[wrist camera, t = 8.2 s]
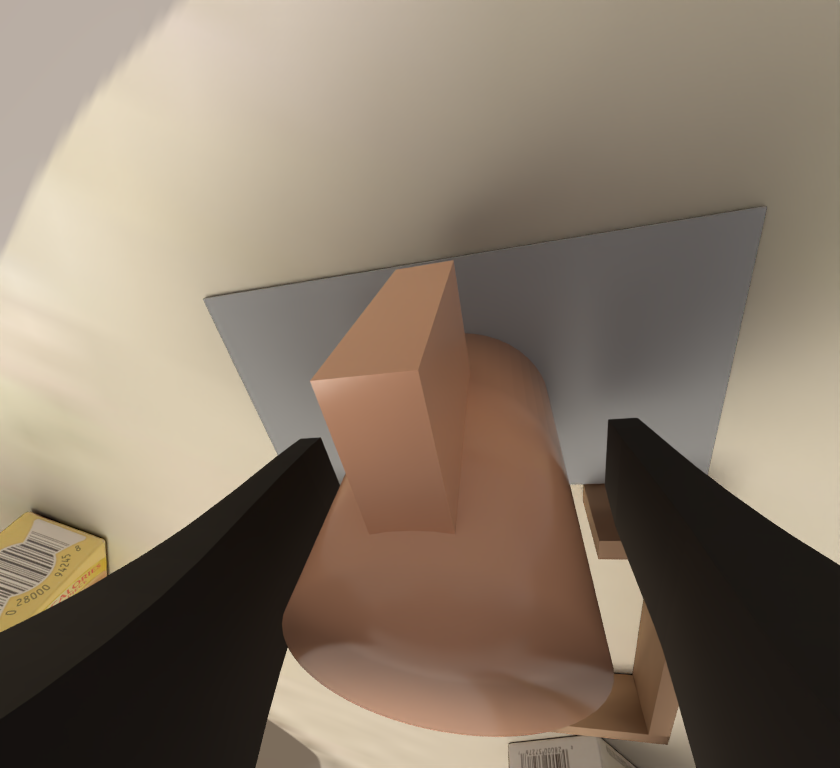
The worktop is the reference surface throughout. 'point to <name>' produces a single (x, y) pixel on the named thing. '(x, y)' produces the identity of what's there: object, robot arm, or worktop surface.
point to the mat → (540, 331)
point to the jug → (447, 531)
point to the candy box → (44, 566)
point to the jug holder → (650, 683)
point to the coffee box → (566, 754)
